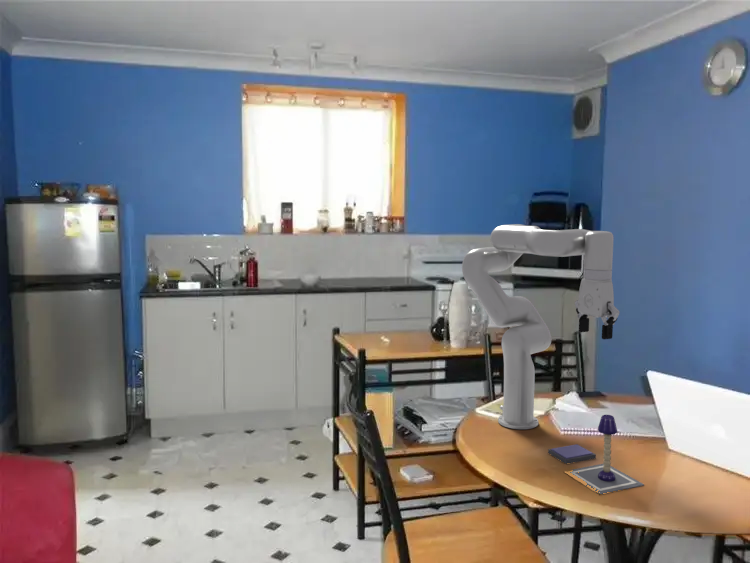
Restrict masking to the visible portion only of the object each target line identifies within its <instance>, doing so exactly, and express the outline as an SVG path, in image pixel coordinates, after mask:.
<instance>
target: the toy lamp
mask: <svg viewBox="0 0 750 563" xmlns="http://www.w3.org/2000/svg"><path fill="white" fill-rule="evenodd" d="M597 431H598V432H599V433H601V434H603V436H604V437H603V442H604V444H603V448H604V449H603V457H602V458H603V463H602V464H604V466H603V470H602V471H600V472H599V474H598V478H599V479H600V480H603V481H607V482H611V481H614V480H615V475H614V474H613V472H611V471H610V466H611V463H612V462H611V459H612V456H611V454H612V450H611V448H612V444H611V443H612V435H616V434H617V433H618V428H617V424H616V419H615V417H614V415H611V414H603V415H602V416H601V418H600V421H599V424H598V427H597Z"/></svg>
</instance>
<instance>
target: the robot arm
mask: <svg viewBox="0 0 750 563" xmlns="http://www.w3.org/2000/svg"><path fill="white" fill-rule="evenodd" d="M489 240H490V243H491V245H492V246H487V247H479V248H474V249H472V250H470V251H468V252H467V253H466V254H465V255H464V257H463V259H462V264H461V269H462V275H463V278H464V280H465V283H466V285H467V286H468V287H469V288H470V289H471V291H472V292H473V293H474V295H475V296H476V298H477V299H478V301H479V303H480V305H481V306H482V308H483V309H484V311H485V313H486V314H487V316H488V318H489V319H490V320H491V322H492V323H493V324H494V326H495V327H497V328H504V329H505V328H509V327H510V328H509V329H507V330H506V331H505V332H504V333H503V334H502V337H501V349H502V350H501V351H502V356H503V405H500V406H499V409H500V410H501V411H502V414H501V415H499V416H498V419H497V422H498V424H499V425H501V426H502V427H505V428H509V429H512V430H530V429H534V428H536V427H538V425H539V419H538V418H537V417H535V416H534V415H535V412H534V411H535V410H534V407H535V406H534V405H535V380H536V379H535V377H536V376H535V374H536V372H535V366H534V362H533V360H532V356H531V355H533V354H536V353H537V354H538V353H541V352H544V351H546V350H547V349H548V348H549V347H550V346H551V345H552V344H551V343H552V334H551V331H550V329H549V327H548V325H547V324H546V322H545V321H544V319H543V317H542V316H541V314H540V313H539V311H538V310H537V308H536V307H535V306H534V304H533V303H532V302H531V300H529V299H528V298H527V297H525V296H520V295H515V296H509V295H508V294H506V292H505V290H504V289H503V288H502V286H501V284H500V283H499V282H498V281H497V280H496V279H495V278H494V277H492V276H491V275H490V273H500V272H503V271H506V270H508V269H509V268H511V267H512V266H513V264H515V263H516V261H518V259H519V258H520V257H521V256H522V255H524V254H531V255H535V256H536V255H537V256H543V257H556V258H559V257H561V258H563V257H564V258H565V257H573V256H574V257H575V256H582V255H583V256H584V257H583V278H581V281H580V286H579V290H578V299H577V300H576V301H574V306H575V311H576V314H577V318H578V332H579V333H588V332H589V331H590V318H589V317H593V318H600V319H601V321H602V323H603V324H602V326H601V339H602V340H610V339H611V340H612V339H613V334H614V332H613V329H614V327H613V326H614V325H615V323H617V321H618V318H619V315H620V312H621V311H620V310H619V309H618V308H617V307H616V306H615V305H614V304H615V302H614V301H615V296H614V285H613V280H612V277H613V276H612V275H613V261H614V260H613V259H614V258H613V253H614V235H613V233H612V232H611V231H606V230H604V231H603V230H589V229H584V228H576V229H575V228H574V229H573V228H572V229H560V230H559V229H557V230H555V229H541V228H540V227H539V226H537V225H525V224H520V223H516V224H515V223H513V224H512V223H511V224H502V225H499V226H497V227H495V228H494V229H492V231H491V233H490V237H489Z"/></svg>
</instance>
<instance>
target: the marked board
mask: <svg viewBox="0 0 750 563" xmlns="http://www.w3.org/2000/svg"><path fill="white" fill-rule="evenodd" d="M603 466H604V464H603V463H599V464H594V465H588V466H583V467H577V468H573V469H572V470H573V471H572V472H570V473H572V474H573V475H575V476H577V477H578V478H580V479H582V480H583V481H585V482H586V483H587V485H589V486H591V488H593V487H594V488H596V490H595V491H597V490H599V491H598V493H599V492H600V493H599V494H602V495H604V494H603V493H607V492H612V493H614V492H613V491H616V492H619V491H618V490H621V491H624V490H623V489H626V490H630V489H633V488H639V487H644V486H645V484H644V483H643V482H640V480H637V479H635V478H633V477H631V475H628V474H626V473H625V472H622V470H619V469H617V468H616V467H613V466H611V465H610V471H611V472H613V474H614V475H615V480H614V481H611V482H607V481H603V480H600V479H599V478H598V474H599V472H600V471H602V470H603ZM578 472H579V473H578ZM587 485H586V486H587ZM586 486H585V487H586ZM594 488H593V489H594ZM629 488H630V489H629ZM607 494H608V493H607Z"/></svg>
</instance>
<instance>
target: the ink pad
mask: <svg viewBox="0 0 750 563" xmlns="http://www.w3.org/2000/svg"><path fill="white" fill-rule="evenodd" d="M548 453H549V455H550V454H551V455H550V456H551V457H553V456H554V457H553V458H555V457H556V458H555V459H557V460H558V459H559V460H558V461H560V460H561V461H560V462H561V463H563V462H564V463H563V464H565V463H566V464H565V465H568V464H567V463H570V464H574V463H573V462H575V463H579V462H586V461H590V460H595V459H596V457H597V456H596V455H597V454H596V453H594V452H592V451H590V450H589V449H587V448H585V447H583V446H581V445H579V444H578V443H577V444H572V445H565V446H559V447H554V448H553V447H552V448H548V449H547V454H548Z"/></svg>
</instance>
